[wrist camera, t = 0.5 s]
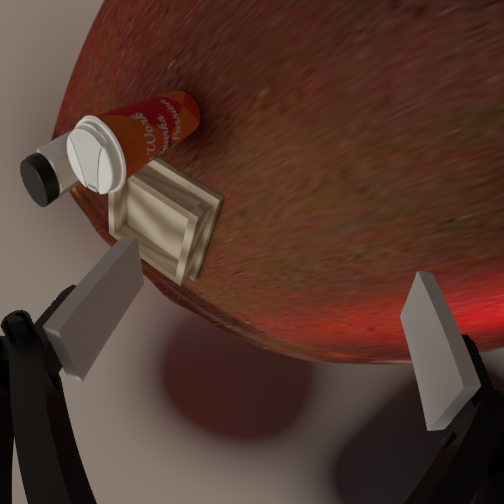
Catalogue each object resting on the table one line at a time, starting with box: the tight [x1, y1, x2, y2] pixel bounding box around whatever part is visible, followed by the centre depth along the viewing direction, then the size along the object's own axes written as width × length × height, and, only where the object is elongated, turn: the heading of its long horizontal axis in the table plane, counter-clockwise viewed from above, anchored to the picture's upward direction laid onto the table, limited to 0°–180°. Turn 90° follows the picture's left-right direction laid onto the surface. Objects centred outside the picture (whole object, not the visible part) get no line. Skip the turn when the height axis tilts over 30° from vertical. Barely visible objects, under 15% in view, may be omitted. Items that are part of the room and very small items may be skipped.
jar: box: [20, 129, 81, 207], centre depth 42 cm, size 9×8×12 cm
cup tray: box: [109, 157, 223, 286], centre depth 46 cm, size 18×17×4 cm
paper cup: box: [67, 91, 201, 194], centre depth 30 cm, size 8×8×14 cm
